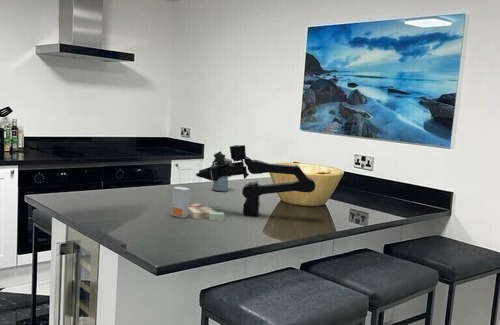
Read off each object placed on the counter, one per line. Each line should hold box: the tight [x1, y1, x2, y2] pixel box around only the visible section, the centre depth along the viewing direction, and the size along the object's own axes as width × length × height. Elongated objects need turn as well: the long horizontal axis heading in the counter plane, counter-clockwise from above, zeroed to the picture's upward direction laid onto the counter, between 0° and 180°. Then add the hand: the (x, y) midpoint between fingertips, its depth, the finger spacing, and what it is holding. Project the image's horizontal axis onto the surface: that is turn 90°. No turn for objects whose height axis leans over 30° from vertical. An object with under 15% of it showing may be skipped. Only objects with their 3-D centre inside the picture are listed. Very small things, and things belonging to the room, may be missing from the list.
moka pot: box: [211, 154, 233, 193], centre depth 269 cm, size 10×15×20 cm, turn 148°
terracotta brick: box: [189, 202, 203, 207], centre depth 217 cm, size 6×3×3 cm, turn 158°
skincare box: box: [171, 186, 191, 219], centre depth 205 cm, size 6×4×12 cm
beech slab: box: [188, 206, 217, 220], centre depth 210 cm, size 10×10×2 cm
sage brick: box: [208, 211, 225, 222], centre depth 205 cm, size 6×3×3 cm, turn 102°
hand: (197, 173), depth 218 cm, fingers open, 9 cm apart
